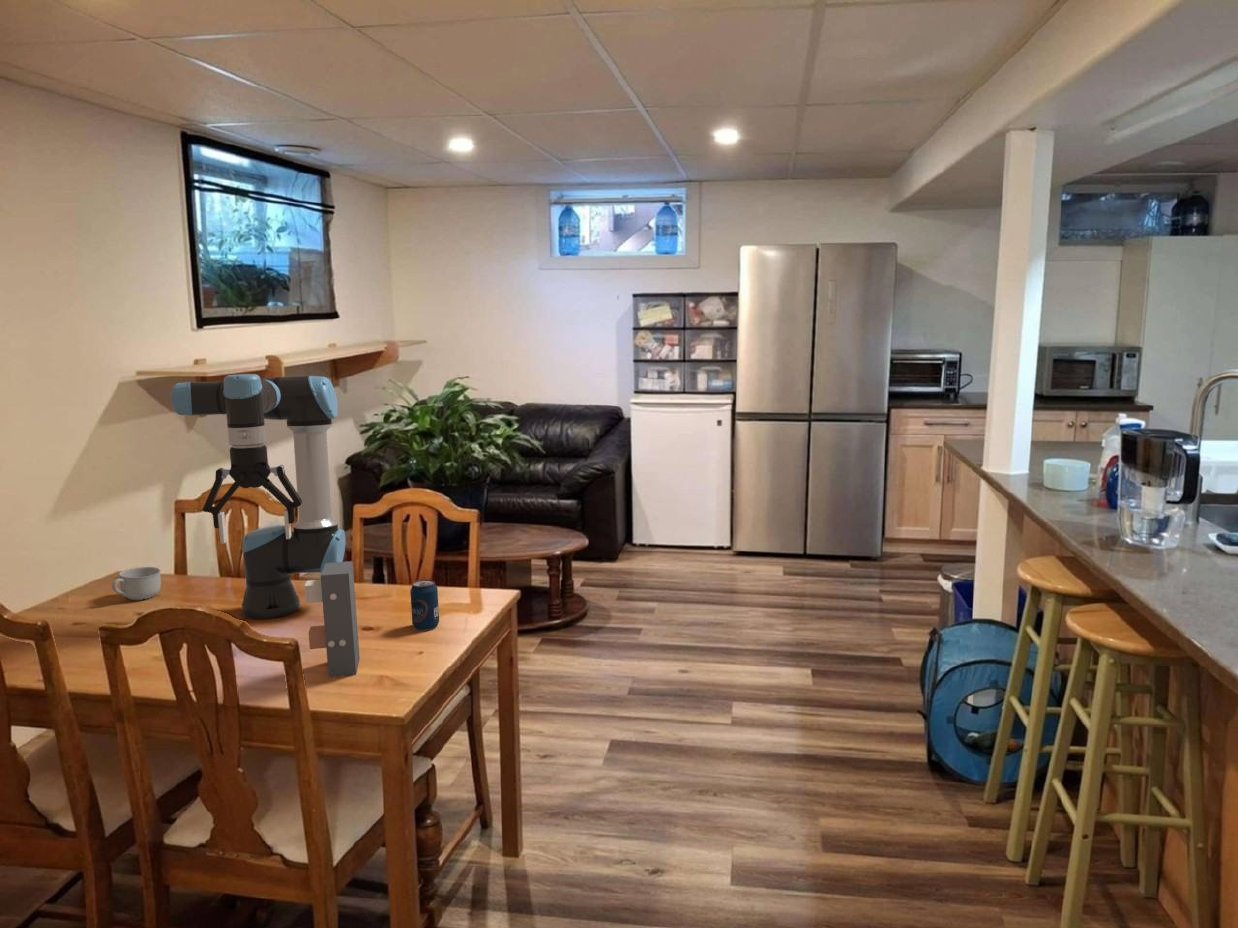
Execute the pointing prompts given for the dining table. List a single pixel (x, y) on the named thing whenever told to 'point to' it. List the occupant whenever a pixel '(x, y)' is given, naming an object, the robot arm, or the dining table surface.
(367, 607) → the dining table surface
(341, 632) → the post
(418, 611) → the soda can
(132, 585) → the teacup
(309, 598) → the light grey cube
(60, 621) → the dining table surface
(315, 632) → the brown cube
